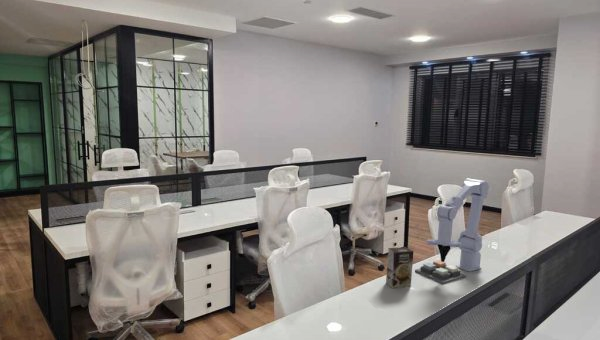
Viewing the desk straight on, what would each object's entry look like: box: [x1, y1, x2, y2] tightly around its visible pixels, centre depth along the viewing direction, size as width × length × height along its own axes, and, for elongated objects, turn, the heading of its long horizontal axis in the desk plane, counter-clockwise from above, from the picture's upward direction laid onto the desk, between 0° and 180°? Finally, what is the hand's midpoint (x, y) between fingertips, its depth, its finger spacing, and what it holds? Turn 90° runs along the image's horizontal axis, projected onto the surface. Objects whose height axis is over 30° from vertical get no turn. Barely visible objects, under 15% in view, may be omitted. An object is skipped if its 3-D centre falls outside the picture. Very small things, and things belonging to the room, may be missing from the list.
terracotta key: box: [432, 259, 447, 267], centre depth 195 cm, size 4×4×2 cm
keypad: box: [414, 264, 467, 285], centre depth 191 cm, size 16×16×3 cm
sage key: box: [435, 268, 448, 275], centre depth 186 cm, size 4×4×2 cm
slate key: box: [422, 262, 436, 270], centre depth 192 cm, size 4×4×2 cm
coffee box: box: [385, 246, 414, 289], centre depth 177 cm, size 9×6×16 cm
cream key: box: [445, 264, 459, 273], centre depth 189 cm, size 4×4×2 cm
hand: (442, 261), depth 185 cm, fingers closed
